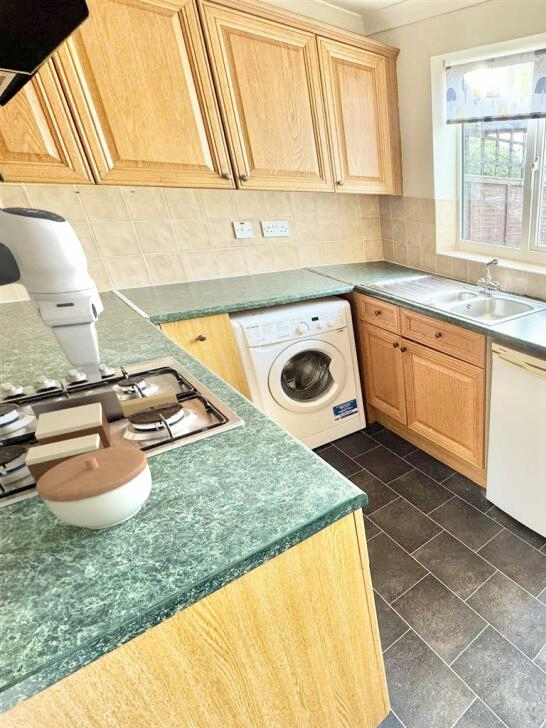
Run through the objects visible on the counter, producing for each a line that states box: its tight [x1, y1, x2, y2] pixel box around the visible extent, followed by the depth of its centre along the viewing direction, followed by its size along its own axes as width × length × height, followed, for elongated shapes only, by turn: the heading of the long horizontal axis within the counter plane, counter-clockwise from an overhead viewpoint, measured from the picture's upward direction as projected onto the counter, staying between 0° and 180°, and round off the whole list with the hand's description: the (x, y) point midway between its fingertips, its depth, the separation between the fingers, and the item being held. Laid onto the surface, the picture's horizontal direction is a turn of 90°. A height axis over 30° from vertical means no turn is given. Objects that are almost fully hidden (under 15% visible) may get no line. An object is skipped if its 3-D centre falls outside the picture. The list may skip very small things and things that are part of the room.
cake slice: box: [24, 434, 105, 485], centre depth 76 cm, size 9×5×6 cm, turn 129°
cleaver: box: [30, 389, 179, 421], centre depth 94 cm, size 23×2×6 cm, turn 131°
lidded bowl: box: [35, 446, 153, 530], centre depth 67 cm, size 13×13×11 cm
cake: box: [34, 403, 111, 449], centre depth 85 cm, size 9×10×6 cm
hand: (95, 372), depth 83 cm, fingers open, 8 cm apart
